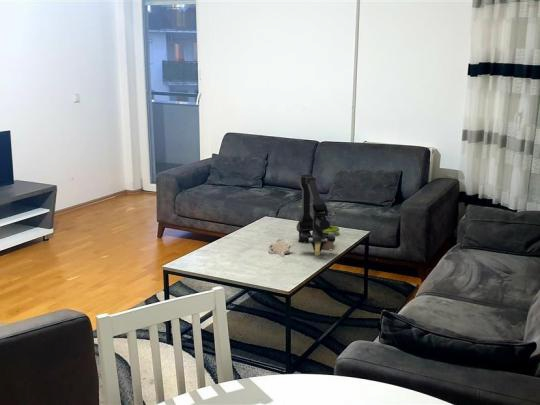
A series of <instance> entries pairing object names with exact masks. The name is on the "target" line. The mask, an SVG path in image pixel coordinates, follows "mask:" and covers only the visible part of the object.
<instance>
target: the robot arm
mask: <svg viewBox="0 0 540 405" xmlns="http://www.w3.org/2000/svg"><path fill="white" fill-rule="evenodd" d="M297 179H298V185H299V186H300V189H301V214H300V216H299V218H298V222H297V225H296V230H297V232H298V243H310V245H312V249H313V252H314V253H315V242H321V246H320V253H321V252H322V251H323V249H322V247H323V245H324V243H326V242H327V239H328V241H329V242H334V243H335V242H336V234H335V233H334V234H328V236H325V233H323V230H326V229H328V228H329V226H330V223H331V222H330V223H329V221H328V218H326V216H328V213H329V210H328V207H327V204H326V203H325V202H326V201H325V200H324V199H323V198H322V197H321V195H320V192H319V188H318V184H317V178H316V176H315V175H313V174H312V173H302V174H299V175H298V178H297ZM311 213H312V215H311Z"/></svg>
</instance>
